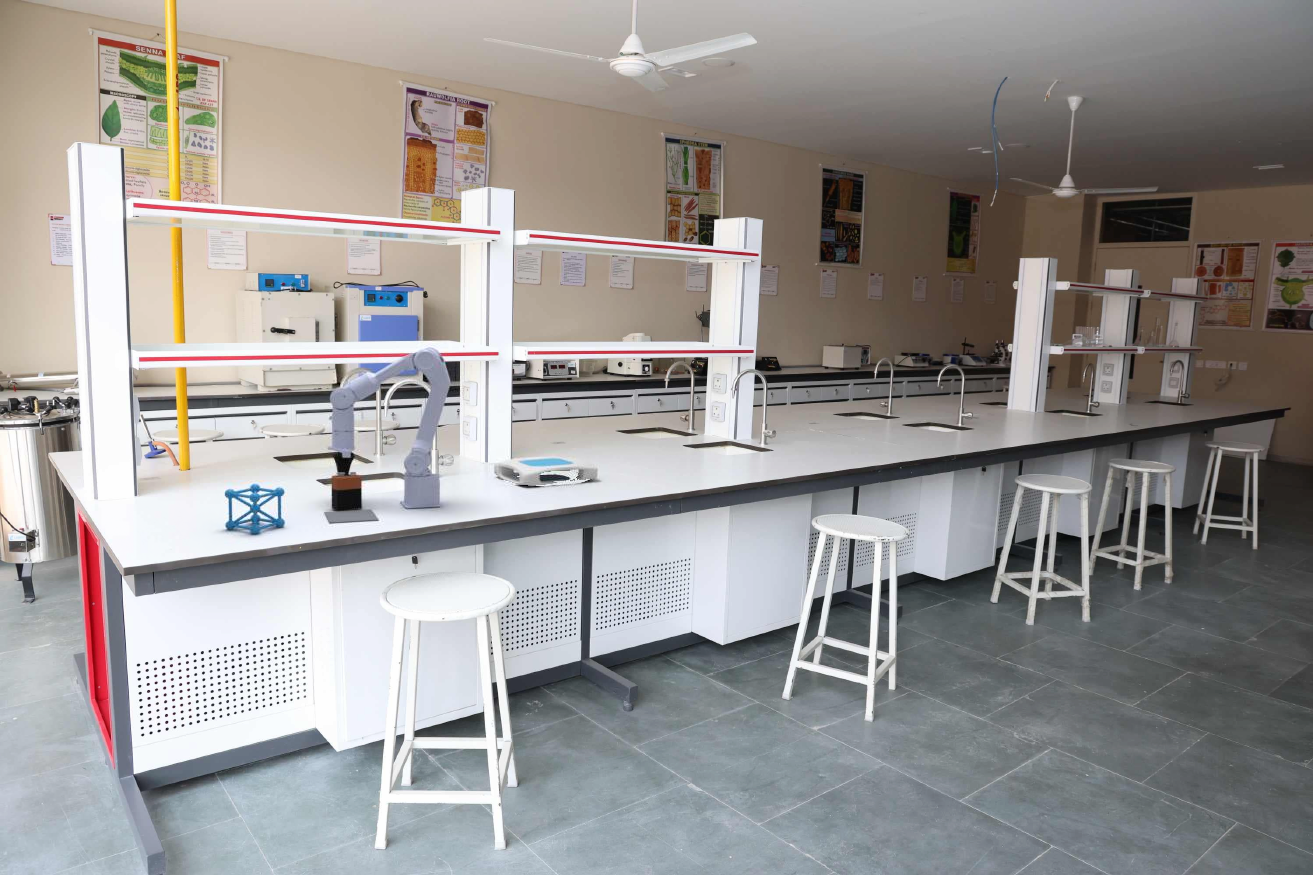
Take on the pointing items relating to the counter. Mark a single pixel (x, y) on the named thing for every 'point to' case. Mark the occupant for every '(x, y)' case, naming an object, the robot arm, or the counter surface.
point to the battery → (346, 491)
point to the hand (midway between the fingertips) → (343, 479)
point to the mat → (350, 516)
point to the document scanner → (542, 469)
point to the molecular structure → (254, 508)
